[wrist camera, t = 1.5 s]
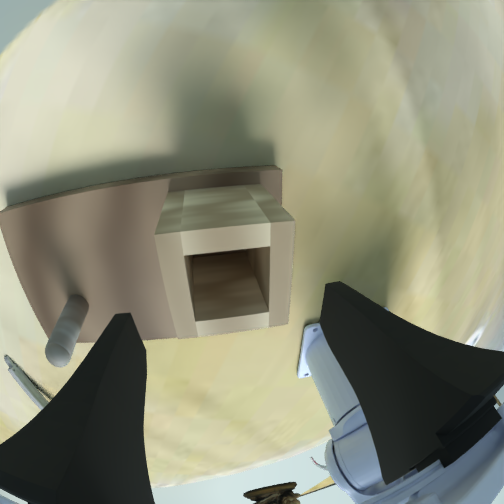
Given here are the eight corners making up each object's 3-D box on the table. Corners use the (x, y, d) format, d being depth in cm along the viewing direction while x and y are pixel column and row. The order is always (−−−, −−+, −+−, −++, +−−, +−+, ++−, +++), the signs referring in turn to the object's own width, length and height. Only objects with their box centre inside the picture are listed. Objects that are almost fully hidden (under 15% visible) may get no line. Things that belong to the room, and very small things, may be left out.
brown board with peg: (275, 165, 17) (325, 198, 10) (272, 312, 23) (300, 382, 16) (7, 206, 14) (-52, 253, 7) (55, 331, 19) (31, 394, 13)
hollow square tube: (260, 183, 16) (295, 220, 11) (261, 263, 18) (288, 324, 13) (167, 192, 15) (154, 234, 10) (179, 273, 17) (177, 339, 12)
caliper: (107, 437, 30) (105, 471, 24) (102, 437, 30) (100, 470, 24) (8, 353, 20) (-9, 394, 14) (4, 355, 20) (-12, 394, 14)
